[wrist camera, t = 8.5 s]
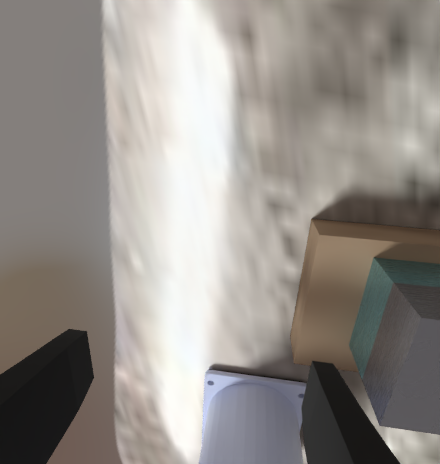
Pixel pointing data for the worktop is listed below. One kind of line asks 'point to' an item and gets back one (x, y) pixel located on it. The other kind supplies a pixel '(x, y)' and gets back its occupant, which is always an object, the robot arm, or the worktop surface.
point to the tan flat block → (345, 282)
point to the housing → (400, 343)
